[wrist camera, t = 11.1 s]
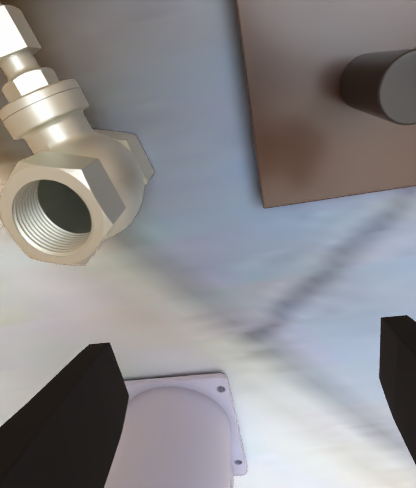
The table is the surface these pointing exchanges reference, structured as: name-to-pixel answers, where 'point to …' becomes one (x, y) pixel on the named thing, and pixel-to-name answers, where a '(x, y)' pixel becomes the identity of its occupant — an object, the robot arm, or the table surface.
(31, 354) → the table surface
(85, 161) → the valve
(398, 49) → the ring stand
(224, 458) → the robot arm
